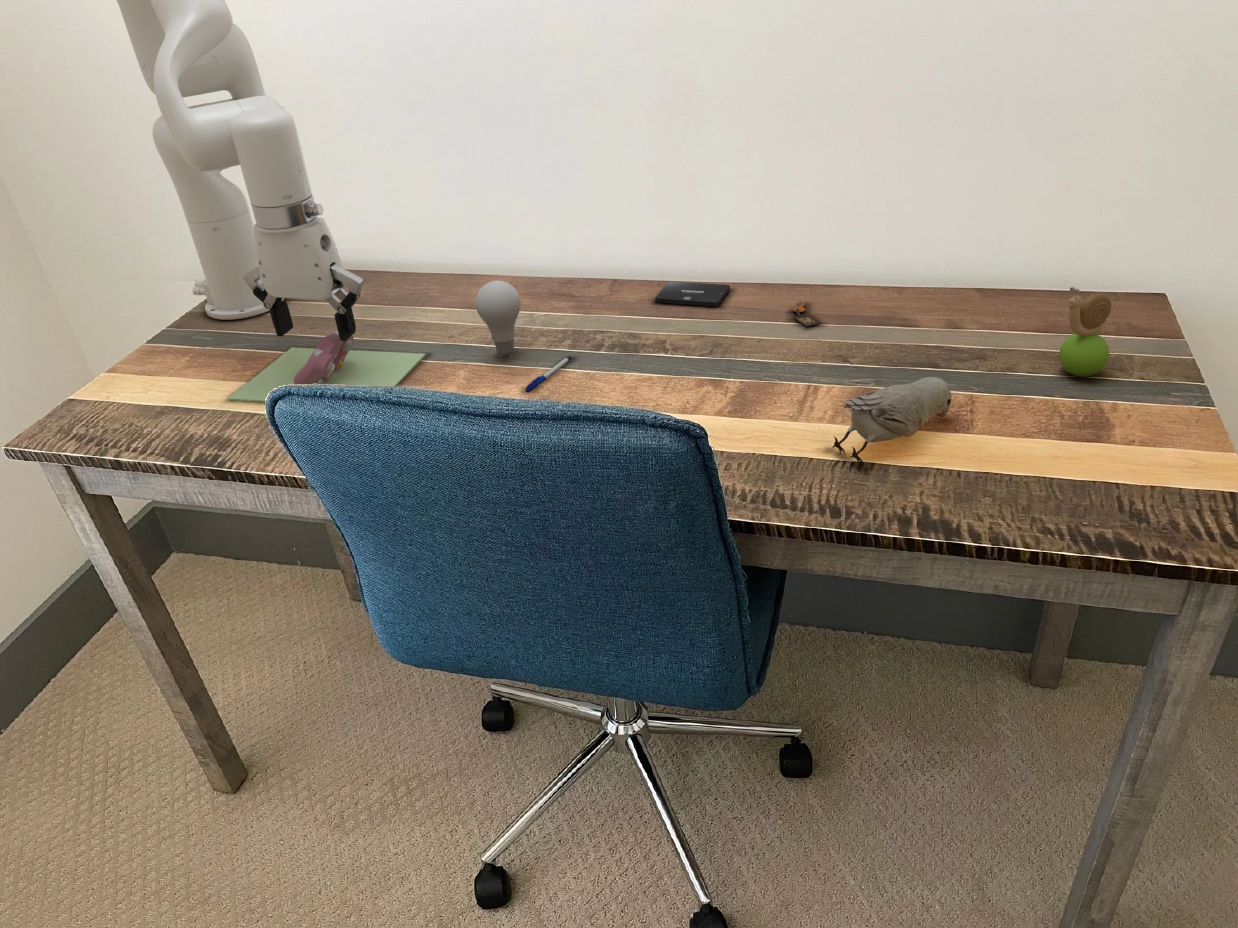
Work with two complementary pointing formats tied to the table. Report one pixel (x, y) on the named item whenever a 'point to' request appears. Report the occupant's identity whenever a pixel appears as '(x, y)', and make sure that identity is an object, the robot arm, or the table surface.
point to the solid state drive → (692, 293)
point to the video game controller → (324, 359)
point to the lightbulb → (499, 313)
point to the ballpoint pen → (546, 375)
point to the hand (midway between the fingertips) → (316, 334)
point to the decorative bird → (896, 411)
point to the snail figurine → (1086, 335)
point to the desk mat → (354, 371)
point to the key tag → (804, 316)
